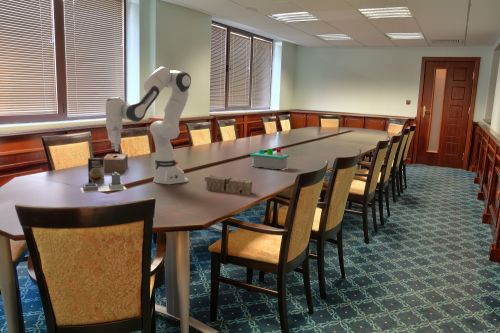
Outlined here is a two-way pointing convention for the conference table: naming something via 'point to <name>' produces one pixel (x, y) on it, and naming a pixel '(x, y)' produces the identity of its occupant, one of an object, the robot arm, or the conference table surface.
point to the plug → (115, 178)
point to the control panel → (269, 159)
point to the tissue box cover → (115, 163)
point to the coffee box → (96, 170)
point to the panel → (101, 187)
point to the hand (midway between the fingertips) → (115, 149)
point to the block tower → (229, 184)
